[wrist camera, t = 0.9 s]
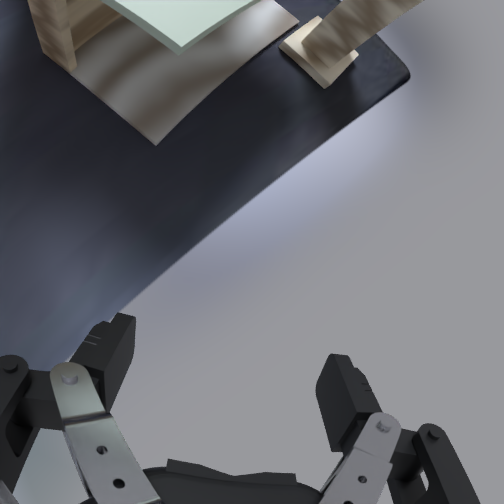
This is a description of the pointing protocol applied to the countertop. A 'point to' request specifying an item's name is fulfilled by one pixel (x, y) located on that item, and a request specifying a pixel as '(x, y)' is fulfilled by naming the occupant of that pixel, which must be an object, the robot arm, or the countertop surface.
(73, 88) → the countertop surface
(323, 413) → the robot arm
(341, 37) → the tall stand
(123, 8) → the trapdoor
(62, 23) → the trapdoor frame
